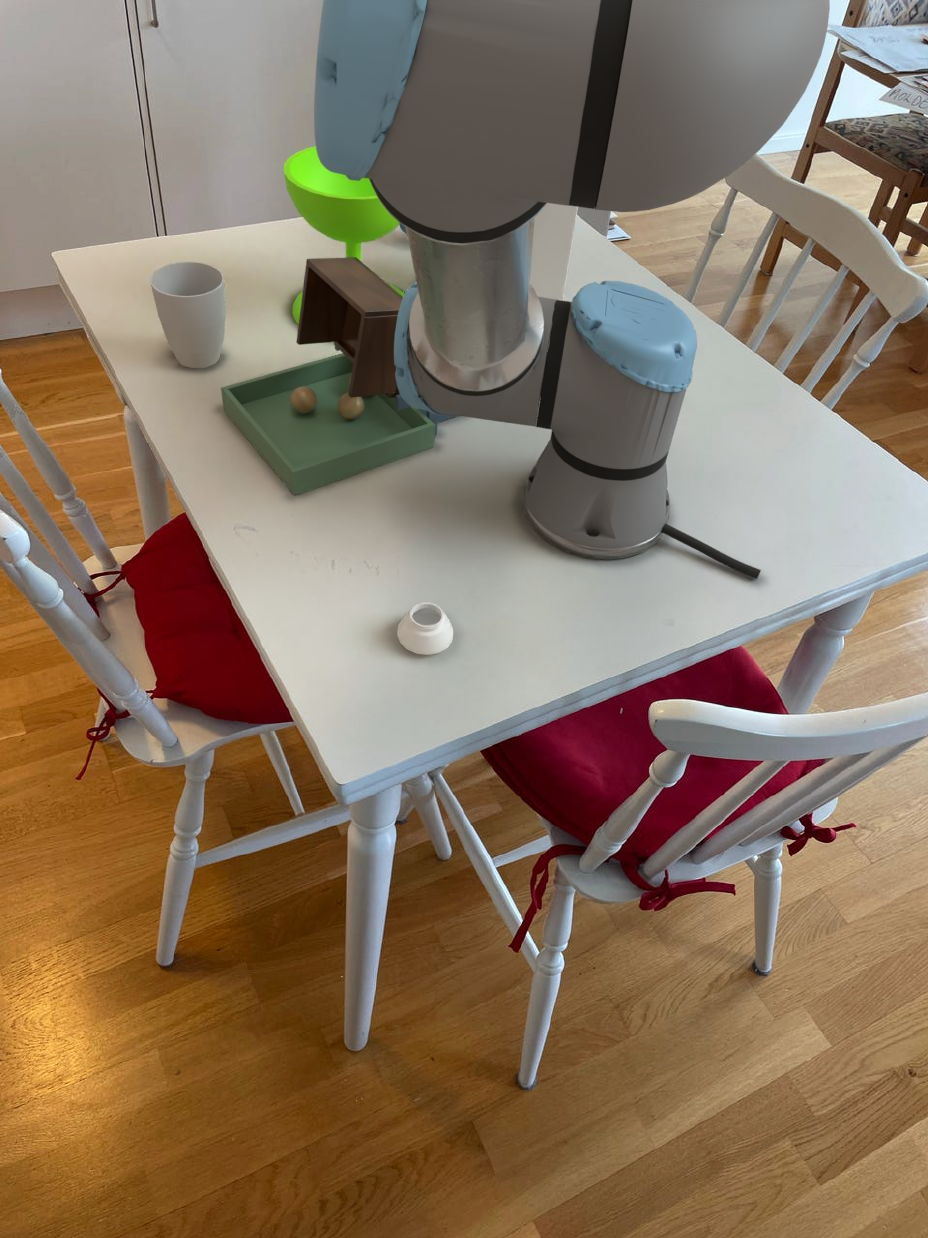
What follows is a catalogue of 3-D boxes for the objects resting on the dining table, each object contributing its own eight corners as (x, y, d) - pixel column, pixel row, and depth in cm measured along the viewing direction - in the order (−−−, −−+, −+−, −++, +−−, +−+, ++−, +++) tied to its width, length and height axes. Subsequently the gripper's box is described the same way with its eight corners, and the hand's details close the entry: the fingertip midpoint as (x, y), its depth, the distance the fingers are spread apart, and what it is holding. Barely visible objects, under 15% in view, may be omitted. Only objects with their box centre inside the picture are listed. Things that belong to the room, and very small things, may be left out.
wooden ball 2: (374, 409, 107) (359, 396, 105) (356, 429, 108) (341, 416, 105) (360, 396, 109) (346, 382, 106) (342, 415, 109) (327, 402, 107)
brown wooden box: (419, 308, 96) (365, 311, 92) (400, 399, 102) (349, 406, 99) (359, 256, 102) (306, 258, 99) (345, 346, 109) (295, 350, 105)
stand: (471, 423, 110) (476, 373, 105) (396, 448, 106) (398, 398, 101) (408, 364, 117) (409, 315, 112) (335, 386, 113) (334, 336, 108)
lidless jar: (450, 660, 85) (454, 619, 88) (452, 638, 83) (456, 597, 86) (394, 654, 85) (400, 614, 88) (395, 632, 83) (401, 591, 86)
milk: (557, 312, 129) (586, 141, 113) (557, 335, 125) (587, 161, 109) (512, 307, 129) (534, 135, 113) (510, 330, 125) (533, 155, 109)
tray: (434, 447, 106) (435, 424, 104) (294, 495, 99) (293, 472, 97) (356, 371, 115) (356, 348, 113) (223, 410, 108) (220, 387, 106)
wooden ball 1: (305, 423, 108) (326, 406, 108) (293, 407, 105) (314, 389, 105) (293, 410, 109) (313, 393, 109) (280, 393, 107) (301, 376, 107)
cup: (215, 332, 119) (206, 255, 112) (244, 364, 115) (236, 286, 107) (152, 348, 115) (138, 270, 108) (180, 382, 111) (167, 302, 104)
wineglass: (266, 316, 122) (254, 173, 109) (338, 269, 132) (335, 132, 119) (371, 357, 118) (372, 212, 105) (437, 304, 128) (445, 166, 115)
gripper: (583, -145, 84) (546, 138, 101) (460, -141, 78) (443, 157, 95) (639, -127, 80) (591, 164, 97) (514, -121, 74) (486, 187, 91)
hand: (518, 161), depth 96 cm, fingers closed
